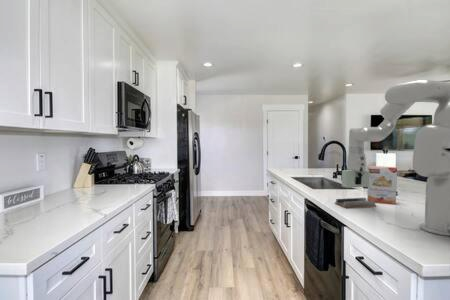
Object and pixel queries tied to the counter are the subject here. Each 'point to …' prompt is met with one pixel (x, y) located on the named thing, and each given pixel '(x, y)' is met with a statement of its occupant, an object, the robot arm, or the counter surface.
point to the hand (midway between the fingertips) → (355, 183)
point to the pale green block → (354, 179)
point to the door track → (355, 203)
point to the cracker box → (382, 184)
